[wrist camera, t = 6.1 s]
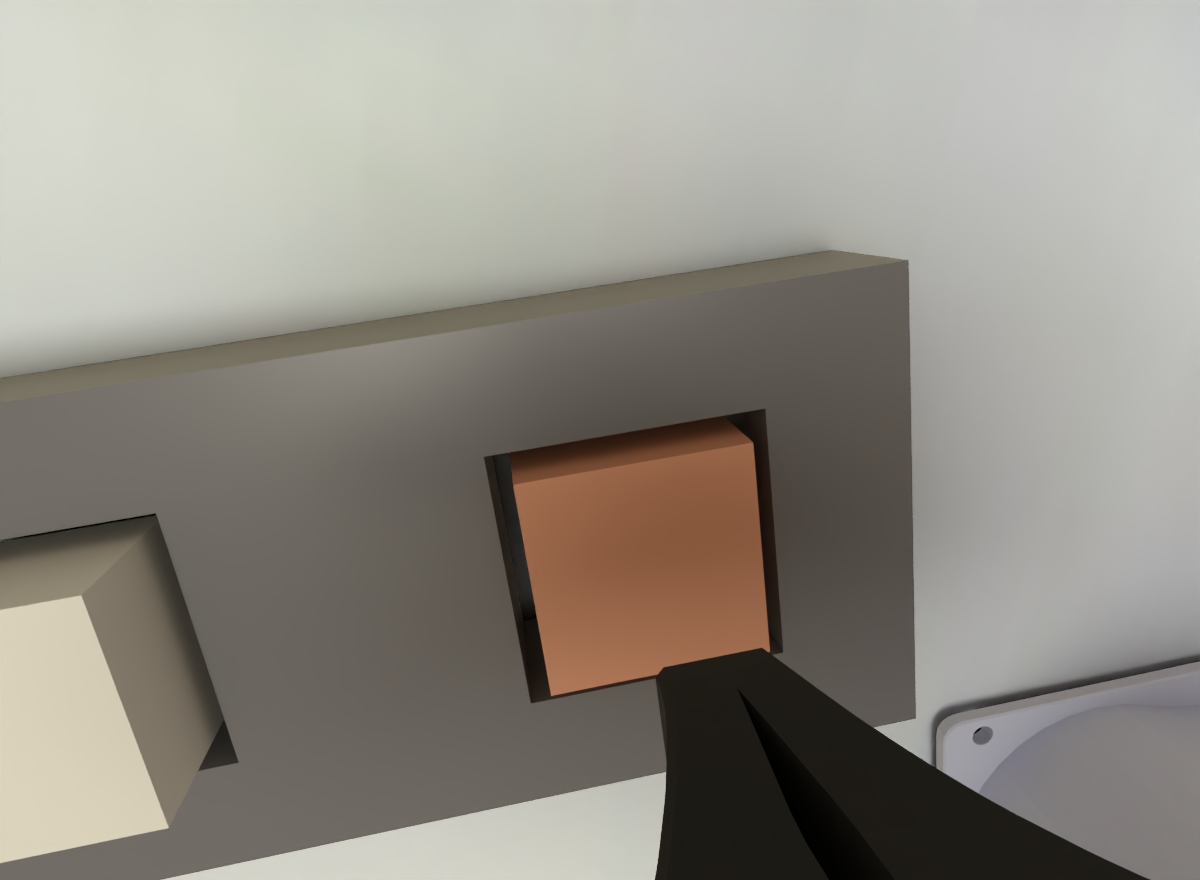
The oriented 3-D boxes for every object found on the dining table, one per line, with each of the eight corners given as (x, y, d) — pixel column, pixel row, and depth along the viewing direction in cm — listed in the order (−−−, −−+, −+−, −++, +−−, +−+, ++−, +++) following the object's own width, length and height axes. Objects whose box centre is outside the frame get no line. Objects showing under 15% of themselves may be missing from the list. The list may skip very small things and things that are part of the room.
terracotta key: (705, 399, 16) (753, 442, 13) (722, 577, 17) (770, 651, 14) (507, 432, 15) (513, 484, 13) (540, 611, 17) (551, 696, 14)
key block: (832, 250, 16) (907, 260, 13) (849, 639, 19) (915, 718, 16) (-244, 416, 14) (-431, 469, 11) (-51, 821, 17) (-161, 948, 14)
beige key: (165, 513, 14) (81, 595, 11) (229, 708, 15) (168, 827, 12) (-80, 555, 13) (-235, 652, 10) (6, 751, 14) (-112, 886, 12)
